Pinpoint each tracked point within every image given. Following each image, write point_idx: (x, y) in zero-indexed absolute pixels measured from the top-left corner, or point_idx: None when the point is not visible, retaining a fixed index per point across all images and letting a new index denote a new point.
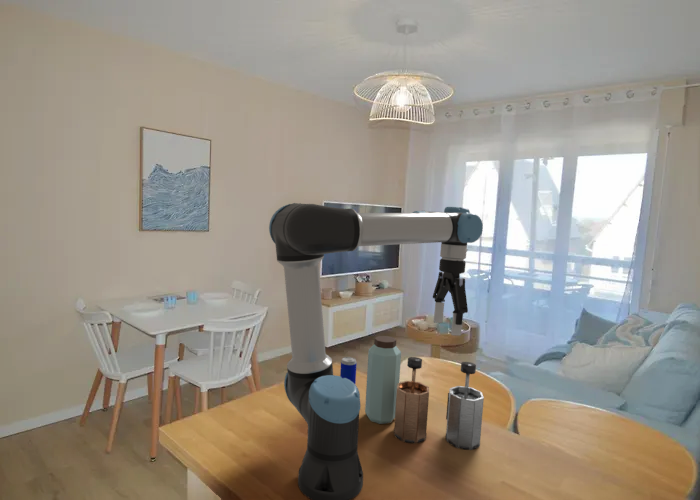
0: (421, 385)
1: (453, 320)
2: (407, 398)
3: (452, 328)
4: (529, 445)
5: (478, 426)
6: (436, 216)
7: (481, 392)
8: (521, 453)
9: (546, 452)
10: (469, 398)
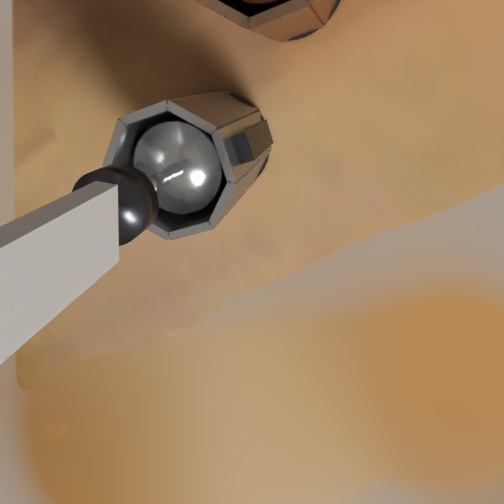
0: (284, 4)
1: (3, 228)
2: None
3: (66, 199)
4: (174, 298)
5: None
6: None
7: (165, 237)
8: (146, 256)
9: (143, 312)
10: (177, 185)
